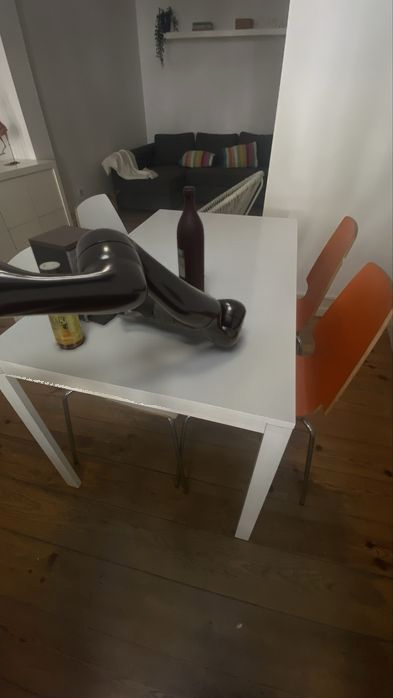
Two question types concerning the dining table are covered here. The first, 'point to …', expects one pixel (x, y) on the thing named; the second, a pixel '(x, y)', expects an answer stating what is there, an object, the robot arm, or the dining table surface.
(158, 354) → the dining table surface
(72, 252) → the coffee maker
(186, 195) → the wine bottle
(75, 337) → the sauce bottle
